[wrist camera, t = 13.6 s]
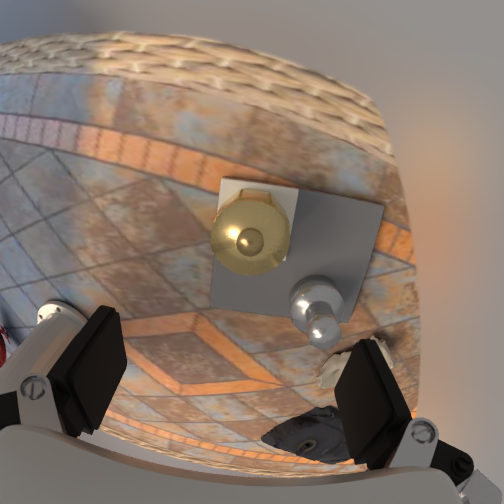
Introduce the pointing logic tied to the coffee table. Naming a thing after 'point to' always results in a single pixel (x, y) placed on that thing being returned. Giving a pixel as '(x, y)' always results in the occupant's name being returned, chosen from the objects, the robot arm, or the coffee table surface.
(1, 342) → the decorative bird figurine
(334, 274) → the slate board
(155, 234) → the coffee table surface
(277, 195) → the pad
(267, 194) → the gold lidded jar
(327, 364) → the beige bone fragment
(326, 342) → the grey knob
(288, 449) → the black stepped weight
